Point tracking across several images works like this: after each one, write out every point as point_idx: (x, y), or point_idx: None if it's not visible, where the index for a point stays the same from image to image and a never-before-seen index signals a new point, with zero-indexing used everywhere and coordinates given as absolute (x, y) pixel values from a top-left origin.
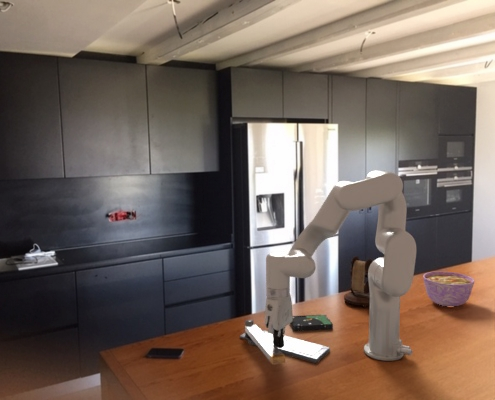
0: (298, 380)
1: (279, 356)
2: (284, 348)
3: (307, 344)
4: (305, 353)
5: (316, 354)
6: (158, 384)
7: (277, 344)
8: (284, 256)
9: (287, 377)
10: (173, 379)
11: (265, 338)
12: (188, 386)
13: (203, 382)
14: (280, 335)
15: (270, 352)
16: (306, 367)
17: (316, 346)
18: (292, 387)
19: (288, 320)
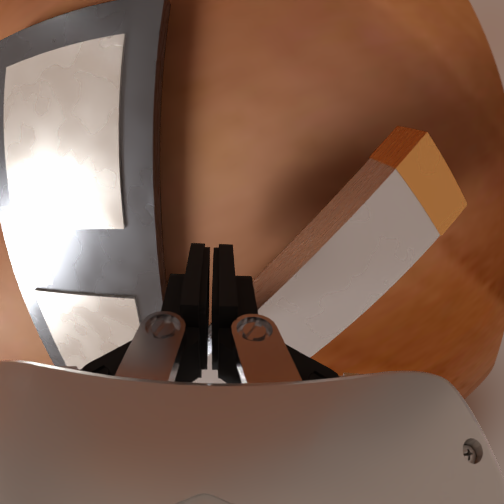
0: (407, 36)
1: (442, 171)
2: (137, 248)
3: (17, 156)
4: (121, 88)
5: (101, 25)
6: (468, 378)
7: (251, 283)
8: None
9: (408, 93)
10: (454, 378)
11: (208, 378)
12: (481, 341)
13: (470, 332)
14: (240, 321)
15: (405, 256)
16: (252, 27)
17: (13, 95)
18: (460, 56)
19: (79, 447)
